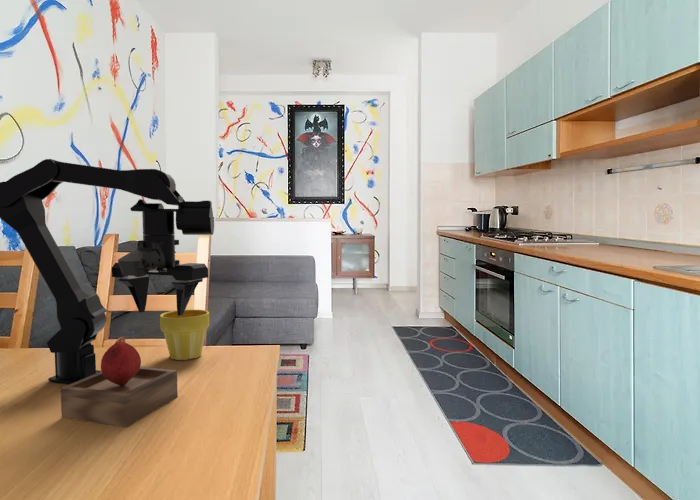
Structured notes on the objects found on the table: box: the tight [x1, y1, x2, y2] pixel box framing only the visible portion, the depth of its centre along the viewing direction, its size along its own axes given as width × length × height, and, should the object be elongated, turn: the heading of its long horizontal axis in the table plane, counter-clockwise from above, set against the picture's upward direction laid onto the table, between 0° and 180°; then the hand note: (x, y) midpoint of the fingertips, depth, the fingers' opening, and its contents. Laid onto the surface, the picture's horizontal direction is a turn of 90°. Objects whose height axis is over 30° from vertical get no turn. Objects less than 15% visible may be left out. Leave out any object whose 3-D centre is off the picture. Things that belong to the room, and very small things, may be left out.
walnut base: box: [60, 366, 178, 428], centre depth 74 cm, size 12×12×5 cm
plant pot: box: [159, 308, 210, 361], centre depth 102 cm, size 10×10×10 cm
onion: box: [100, 336, 142, 386], centre depth 74 cm, size 6×6×8 cm
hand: (160, 313), depth 90 cm, fingers open, 9 cm apart
